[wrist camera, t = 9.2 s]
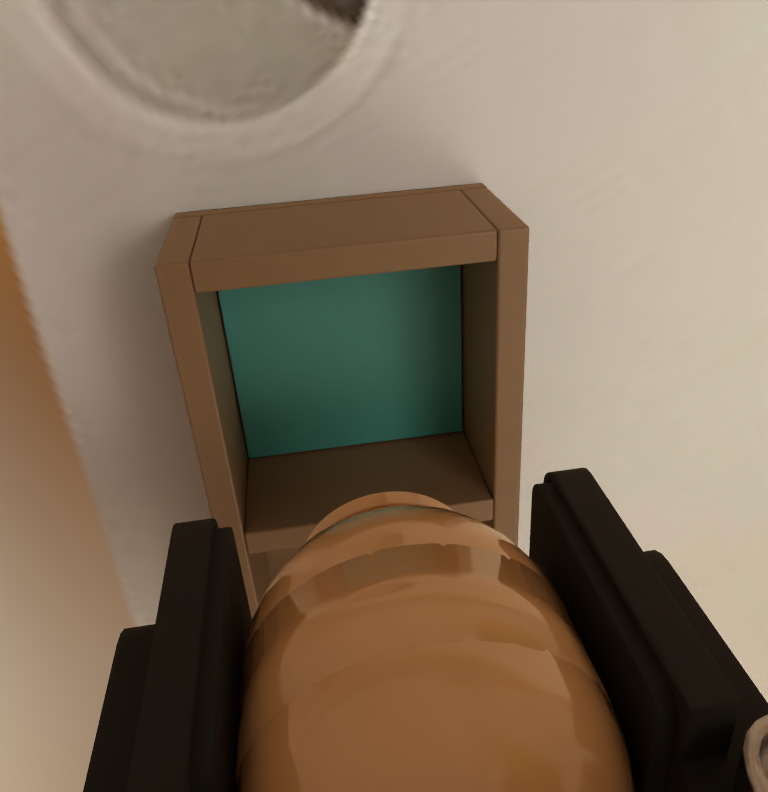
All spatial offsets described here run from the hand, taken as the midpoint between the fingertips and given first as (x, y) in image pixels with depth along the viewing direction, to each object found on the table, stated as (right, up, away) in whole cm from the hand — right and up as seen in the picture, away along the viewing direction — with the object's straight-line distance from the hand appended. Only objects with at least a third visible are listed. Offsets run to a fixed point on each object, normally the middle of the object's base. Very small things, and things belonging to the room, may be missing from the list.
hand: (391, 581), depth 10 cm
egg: (0, 0, 0) cm, 1 cm away
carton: (-1, -1, +10) cm, 10 cm away
